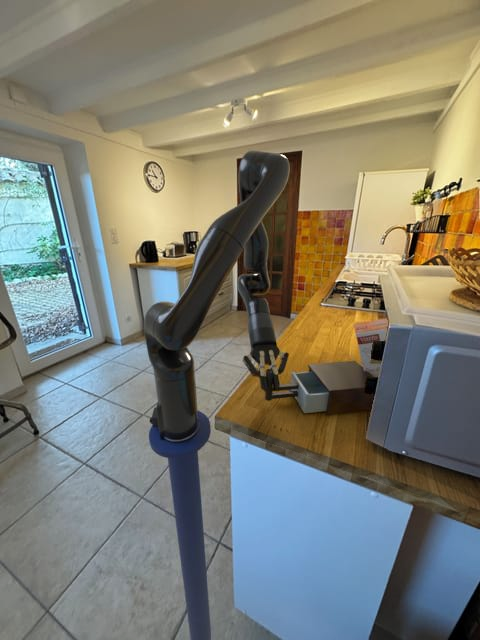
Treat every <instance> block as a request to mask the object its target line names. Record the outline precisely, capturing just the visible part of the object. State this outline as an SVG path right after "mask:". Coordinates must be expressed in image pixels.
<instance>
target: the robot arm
mask: <svg viewBox="0 0 480 640" xmlns="http://www.w3.org/2000/svg"><path fill="white" fill-rule="evenodd" d="M290 172H291V165H290V161H289V160H288V158H287V157H286V156H285V155H283V154H280V153H276V152H268V151H267V152H266V151H261V150H249V151H247V152H245V153H244V154H243V156H242V157H241V160H240V162H239V167H238V189H239V190H238V191H239V200H240V203H239V204H238V205H236V206H234V207H233V208H231V209H229V210H227V211H226V212H225V213H223V214H221V215H220V216H219V217H217V218H215V220H213V222H212V223H211V224H210V225H209V227H208V228H207V230H206V231H205V233H204V235H203V236H202V238H201V239H200V241H199V243H198V245H197V247H196V250H195V252H194V255H193V256H194V257H193V262H192V268H191V273H190V274H191V275H190V278H189V280H188V282H187V284H186V286H185V288H184V290H183V292H182V293H181V294H180V296H179V298H178V299H177V300H176V302H175V303H174V302H172V301H164V300H162V301H158V302H155V303H154V304H152V305H151V306H150V307H149V308H148V310H147V311H146V313H145V315H144V318H143V333H144V338H145V339H144V340H145V345H146V350H147V356H148V360H149V362H150V365H151V366H152V367H151V368H152V370H153V376H154V384H155V391H156V393H155V394H156V399H157V401H156V406H155V407H154V408H153V410H152V415H151V417H150V418H149V423H150V424H151V426H152V425H153V427H159V433H160V440H166V441H168V442H172V443H180V442H184V441H187V440H189V439H191V438H192V437H193V436H195V434H196V433H197V431H198V429H199V422H198V411H199V410H198V398H197V386H196V385H197V384H196V371H195V370H196V369H195V368H196V367H195V360H194V357H193V354H192V353H191V352H190V350H189V348H188V347H189V346H190V345H191V344H192V343H193V342H194V340H195V339H196V337H197V336H198V334H199V332H200V330H201V328H202V326H203V324H204V321H205V319H206V318H207V315H208V313H209V311H210V309H211V307H212V304H213V303H214V300H215V299H216V297H217V295H218V294H219V292H220V290H221V288H222V286H223V285H224V283H225V281H226V280H227V278H228V276H229V274H230V273H231V271H232V270H233V268H234V267H235V265H236V264H237V262H238V260H239V258H240V257H241V255H242V254H243V266H244V268H245V270H248V271H250V272H254V273H243V274H241V275H239V276H238V278H237V281H236V287H237V290H238V292H239V295H240V296H241V299H242V301H243V303H244V306H245V310H246V311H245V312H246V316H247V317H246V318H247V333H248V337H249V344H250V352H249V354H247V355H244V356H243V358H242V362H243V364H244V365H245V367H246V368H247V370H248V371H249V373H250V374H251V375H252V377H257V378H258V379H259V384H260V389H261V390H262V391H263V392H264V393H265V392H267V391H268V388H267V381H266V369H265V366H268V367H269V368H268V369H272V370H273V388H274V391H273V392H278V391H277V390H278V388H279V387H280V385H281V384H280V379H279V378H280V377H279V375H282V374H283V373H284V372H285V369H286V365H287V362H288V360H289V355H290V354H289V352H283V351H281V350H280V348H279V347H278V343H277V338H276V333H275V328H274V321H273V319H272V316H271V311H270V306H269V302H268V300H267V299H266V298H265V297H262V296H264V295H267V294H268V293H269V291H270V289H271V280H270V277H269V272H268V257H269V256H268V255H269V247H270V245H269V244H270V243H269V236H268V233H267V231H266V227H265V224H264V223H263V219H264V218H265V216H266V215H267V213H269V211H270V210H271V208H272V207H273V206H274V205H275V203H276V202H277V200H278V198H280V196H281V194H282V193H283V191H284V189H285V188H286V186H287V183H288V180H289V177H290ZM278 357H279V360H280V363H279V367H277V365H278V364H277V359H278ZM253 360H254V362H255V363H256V364H257V368H256V367H255V365H254V364H253V362H252V361H253ZM197 410H198V411H197Z"/></svg>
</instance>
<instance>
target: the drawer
mask: <svg viewBox="0 0 480 640" xmlns="http://www.w3.org/2000/svg"><path fill="white" fill-rule="evenodd" d="M265 376H266V381H267V388H268V391H267V392H264V399H265V401H268V402H270V401H272V400H276V399H286V398H295V400H296V401H297V403H298V405H299V407H300V408H301V411H302V412H303V414H309V413H312V414H313V413H320V412H326V410H327V403H328V396H329V392H328V391H327V390H326V389H325V387H324V386H323V385H322V384H321V382H320V381H319V380H318V379H317V377H316V376H315V375H314V374H313V372H312V371H310V372H309V371H299V372H295V371H291V373H290V383H283V384H280V387H279V388H278V390H277V391H274V388H273V370H272V369H270V368H267V369H265Z"/></svg>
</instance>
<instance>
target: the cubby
mask: <svg viewBox="0 0 480 640" xmlns="http://www.w3.org/2000/svg"><path fill="white" fill-rule="evenodd" d="M307 368H308V372H310V371H312V372H313V374H314V375H315V376H316V377H317V379H318V380H319V381H320V382H321V384H322V385H323V386H324V387H325V389H326V390H327V391H328V392H329V396H328V403H327V410H326V411H325V414H326V415H337V414H338V415H339V414H345V413H355V412H365V411H372V410H371V409H372V404H373V400H374V395H368V394H365V393H364V386H365V379H366V376H372V377H374V376H373V375H372V374H370V373H369V372H368V371H364V370H363V366H362V364H360V363H359V362H358V361H356V360H347V361H334V362H321V363H310V364H307Z"/></svg>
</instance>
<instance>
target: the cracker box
mask: <svg viewBox="0 0 480 640" xmlns="http://www.w3.org/2000/svg"><path fill="white" fill-rule="evenodd" d="M387 318H388V317H385V318H380V319H374V320H369V321H361V322H357V323H353V328H354V333H355V337H356V342H357V346H358V352H359V357H360V361H361V366H362V367H363V370H364V371H368V372H369V373H370V374H372V375H373V376H374V377H378V374H379V370H380V366H381V361H377V360H373V359H371V350H372V344H373V341H374V340H380V341H384V340H385V338H386V333H387V326H388V320H387Z"/></svg>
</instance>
